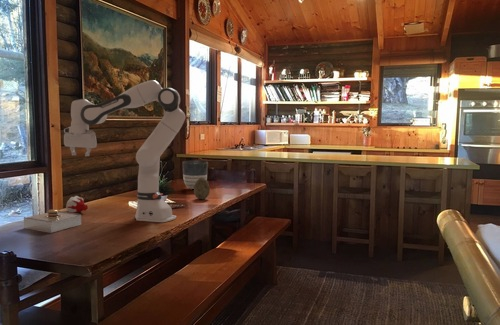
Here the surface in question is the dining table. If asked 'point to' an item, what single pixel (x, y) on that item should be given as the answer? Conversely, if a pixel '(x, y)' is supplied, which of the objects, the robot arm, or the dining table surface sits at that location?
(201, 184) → the decorative egg
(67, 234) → the dining table surface
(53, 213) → the small beige jar
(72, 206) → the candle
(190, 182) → the planter
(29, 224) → the bore block
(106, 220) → the dining table surface
